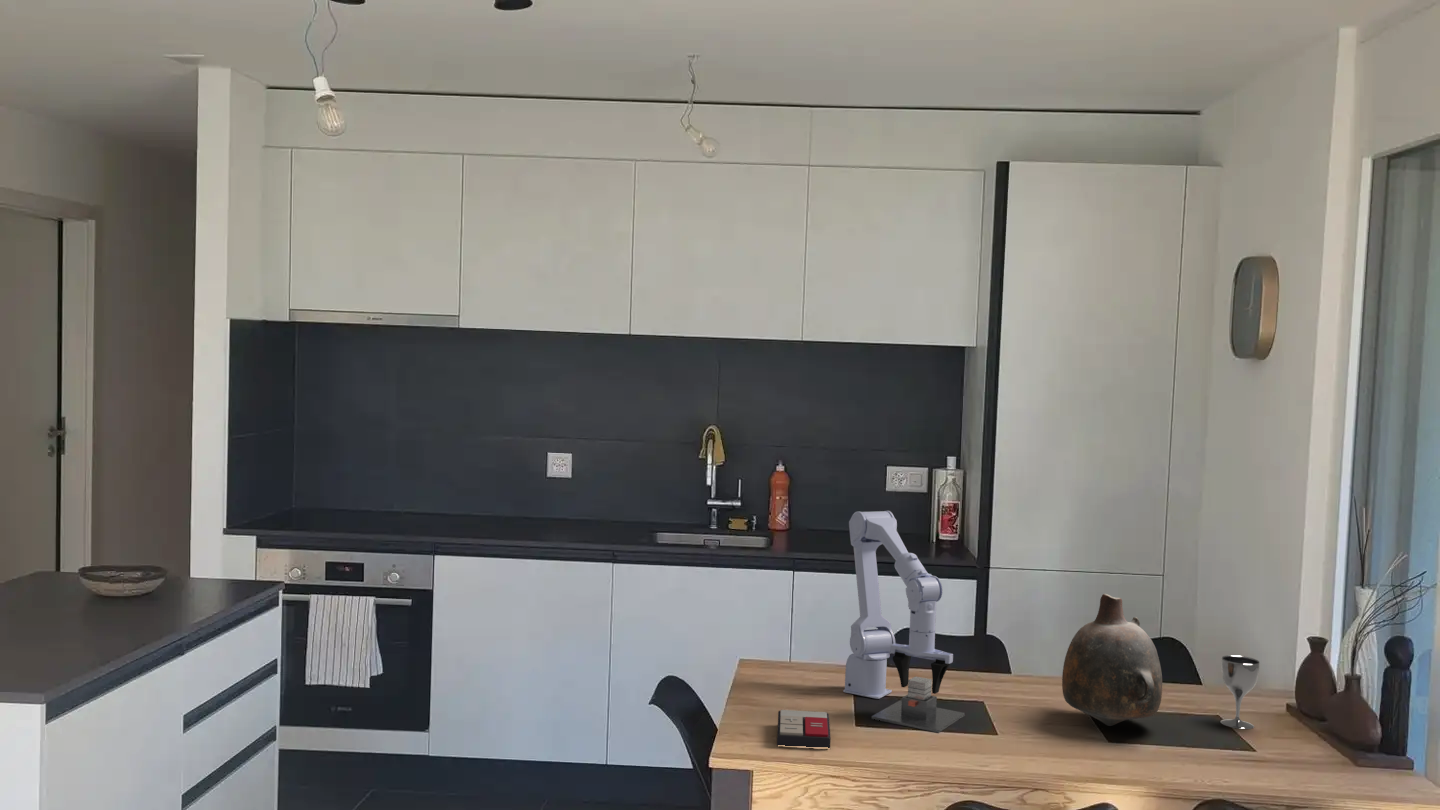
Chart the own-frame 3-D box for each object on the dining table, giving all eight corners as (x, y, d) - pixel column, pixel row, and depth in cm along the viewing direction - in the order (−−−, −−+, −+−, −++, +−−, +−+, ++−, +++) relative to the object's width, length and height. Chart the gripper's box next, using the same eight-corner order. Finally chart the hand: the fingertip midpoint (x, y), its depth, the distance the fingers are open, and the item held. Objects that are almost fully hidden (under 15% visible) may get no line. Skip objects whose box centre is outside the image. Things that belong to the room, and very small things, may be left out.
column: (906, 715, 273) (908, 680, 272) (913, 710, 276) (915, 676, 276) (923, 718, 270) (925, 683, 270) (930, 714, 274) (932, 679, 274)
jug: (1181, 728, 272) (1188, 596, 271) (1141, 748, 256) (1148, 609, 255) (1080, 704, 289) (1086, 580, 287) (1036, 721, 273) (1043, 590, 272)
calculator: (777, 731, 248) (778, 706, 263) (776, 751, 249) (777, 726, 264) (830, 734, 248) (828, 709, 263) (830, 754, 248) (828, 728, 263)
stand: (871, 718, 271) (872, 698, 270) (899, 702, 284) (900, 683, 284) (938, 732, 262) (939, 712, 262) (964, 715, 276) (965, 695, 276)
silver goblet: (1256, 722, 279) (1259, 658, 278) (1255, 731, 272) (1259, 665, 271) (1219, 716, 282) (1222, 653, 282) (1217, 725, 275) (1221, 660, 274)
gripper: (959, 632, 272) (956, 691, 272) (901, 622, 280) (898, 680, 280) (946, 637, 266) (943, 698, 266) (887, 627, 274) (884, 686, 275)
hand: (919, 689), depth 273 cm, fingers open, 7 cm apart
